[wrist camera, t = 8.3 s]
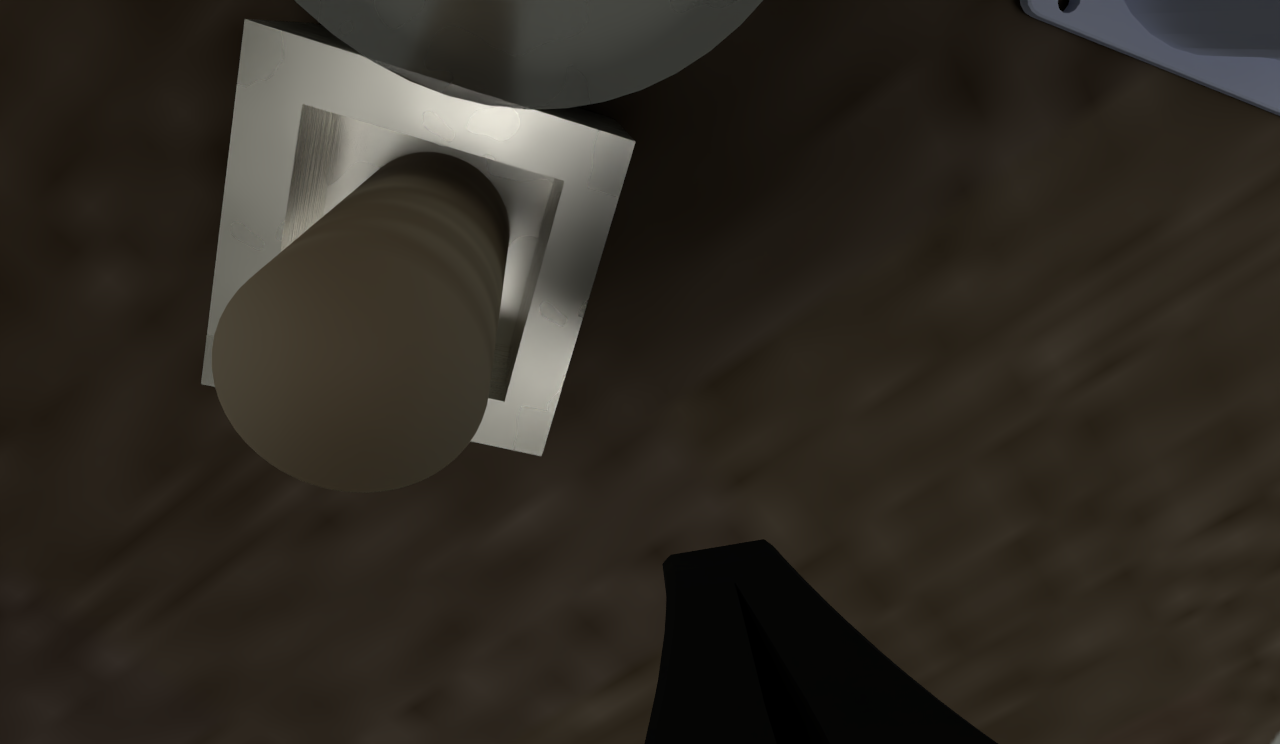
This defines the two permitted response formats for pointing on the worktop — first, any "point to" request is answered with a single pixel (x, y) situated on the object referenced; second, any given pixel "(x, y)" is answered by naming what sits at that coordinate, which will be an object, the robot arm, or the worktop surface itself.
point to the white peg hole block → (458, 145)
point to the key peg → (372, 331)
